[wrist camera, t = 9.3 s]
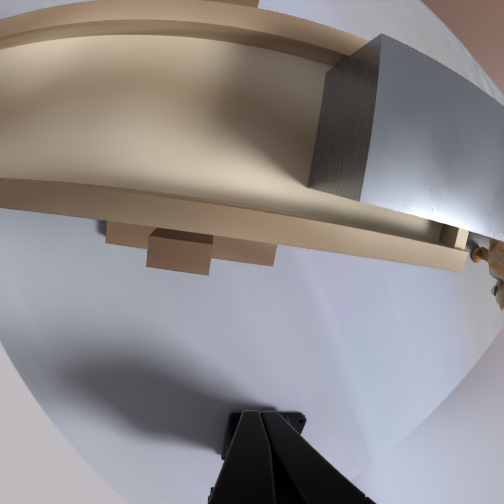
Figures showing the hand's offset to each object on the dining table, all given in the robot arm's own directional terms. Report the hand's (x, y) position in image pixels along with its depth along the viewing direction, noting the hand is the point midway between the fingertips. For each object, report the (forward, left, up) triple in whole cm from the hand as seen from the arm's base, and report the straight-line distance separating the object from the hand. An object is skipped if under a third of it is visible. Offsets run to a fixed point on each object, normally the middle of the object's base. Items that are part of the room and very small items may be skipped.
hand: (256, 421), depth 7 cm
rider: (+8, -5, -6) cm, 11 cm away
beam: (+8, +3, -7) cm, 10 cm away
